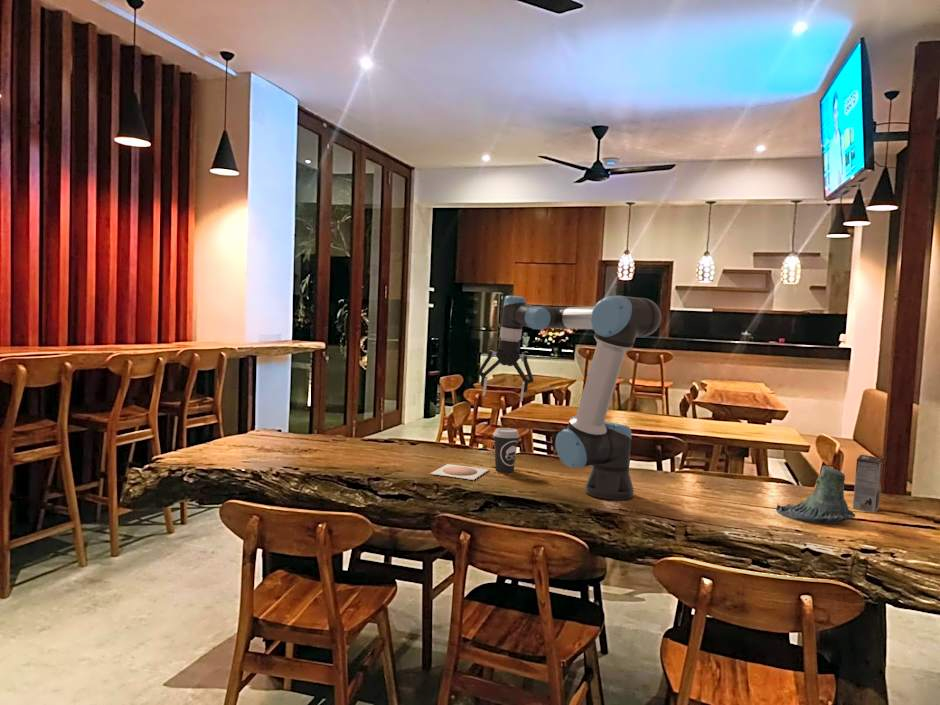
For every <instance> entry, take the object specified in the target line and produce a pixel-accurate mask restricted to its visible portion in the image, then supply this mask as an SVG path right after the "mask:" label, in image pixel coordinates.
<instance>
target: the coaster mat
mask: <svg viewBox="0 0 940 705" xmlns="http://www.w3.org/2000/svg"><path fill="white" fill-rule="evenodd" d="M487 471H488V472H490V469H488V468H480V467H474V466H473V467H472V466H465V465H458V464H452V463H451V464H449V463H447V464H445V465H443V466H441V467H439V468H437V469H435V470H434V471H432V472H430V473H429V475H430V474H433V475H440V476H449V477H456V478H463V479H468V480H467V481H469V480H473V481H472V482H475V481H476V480H478V479H479V478H480V476H481V475H482V476H484V475H485V474H487V473H488V472H487ZM486 472H487V473H486ZM484 473H485V474H484ZM483 474H484V475H483ZM433 475H432V476H433ZM440 476H439V477H440ZM482 476H481V477H482ZM478 477H479V478H478ZM477 478H478V479H477ZM475 479H476V480H475ZM474 480H475V481H474Z"/></svg>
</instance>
